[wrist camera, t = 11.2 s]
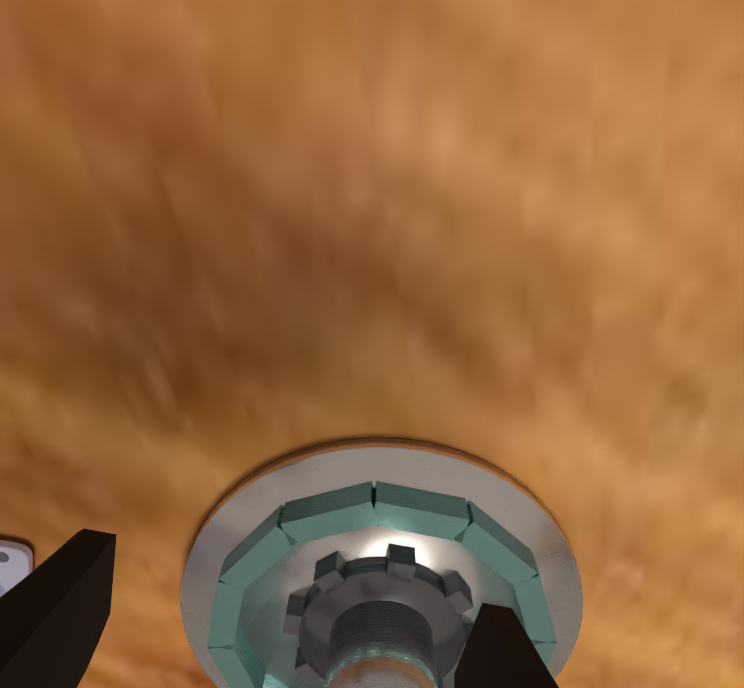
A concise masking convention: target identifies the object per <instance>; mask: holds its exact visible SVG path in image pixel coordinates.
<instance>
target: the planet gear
mask: <svg viewBox="0 0 744 688" xmlns="http://www.w3.org/2000/svg"><path fill="white" fill-rule="evenodd" d="M313 581H314V582H315V583H314V584H313V585H312V587H311V588H310V589H309V591H308V593H307V595H306V597H304V596H298V595H292V594H289V599H288V604H287V609H286V614H285V620H284V625H283V631H282V633H284V634H291V635H297V636H299V644H300V647H299V648H298V649H297V656H296V662H295V670H296V671H297V672H298V673H299V674H300V675H301V676H302V677H303V678H304V679H305V680H306V682H307V683H308V684H311V683H313V682H315V681H317V680H319V679H322V678H323V679H324V680H325V688H443V682H442V678H443V677H444V676H446V675H447V674H448V673H449V672H450V671H451V670H452V669H453V667H454V666H455V665H456V663H457V662H458V661H460V658H461V655H462V653H463V650H464V648H465V645H466V643H467V640H468V638H469V635H470V633H471V630H472V628H473V625H474V624H469V623H463V619H462V613H463V612H466V611H468V610H470V609H472V608H474V607H473V601H472V595H471V589H470V587H469V585H468V584H467V583H466V581H465V580H464V579H463V578H462V576H461V575H460V574H459V573H458V571H456V572H454V573H452V574H450V575H448V576H446V577H444V578H442V577H441V576H440V575H439V574H437V573H436V572H434V571H433V570H431V569H430V568H428V567H426V566H424V565H422V564H419V563H417V562H416V555H415V548H414V547H408V546H403V545H397V544H391V543H389V545H388V549H387V553H386V556H373V557H364V558H359V559H354V560H351V561H348V562H347V561H346V560H345V559H344V558H343V556H342V555H341V554H340V553H339V552H338V551H336V552H334V553H332V554H330V555H328V556H326V557H324V558H322V559H320V560H318V561H316V566H315V573H314V580H313Z"/></svg>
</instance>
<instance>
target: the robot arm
mask: <svg viewBox="0 0 744 688" xmlns="http://www.w3.org/2000/svg"><path fill="white" fill-rule="evenodd" d="M115 545H116V534H110V533H105V532H100V531H94V530H89V529H83V530H81V531H79V532H77V533H76V534H75V535H74V536H73V537H72V538H71V539H70V540H68V541H67V542H66V543H65V544H64V545H63V546H62V547H60V548H59V549H58V550H57V551H56V552H55V553H53V554H52V555H51V556H50V557H49V558H48V559H46V560H45V561H44V562H43V563H42V564H41V565H39V566H38V567H37V568H36V569H35V570H33V555H32V551H31V550H30V549H29V548H28V547H27V546H26V545H23V544H20V543H14V542H9V541H3V540H0V688H77V686H78V684H79V682H80V681H81V679H82V677H83V675H84V673H85V671H86V669H87V667H88V665H89V663H90V660H91V658H92V656H93V653H94V651H95V649H96V646H97V644H98V642H99V639H100V637H101V634H102V632H103V630H104V627H105V625H106V622H107V620H108V617H109V615H110V608H111V596H112V583H113V570H114V558H115ZM3 552H4V553H6V554H7V555H6V554H4V553H3ZM454 688H559V687H558V685H557V684H556V682H555V680H554V679H553V677H552V675H551V674H550V672H549V670H548V669H547V667H546V665H545V664H544V662H543V660H542V659H541V657H540V655H539V653H538V652H537V650H536V648H535V647H534V645H533V643H532V641H531V640H530V638H529V636H528V634H527V633H526V631H525V629H524V627H523V626H522V624H521V622H520V621H519V619H518V617H517V615H516V614H515V612H514V610H513V609H512V608H509V607H504V606H498V605H493V604H488V603H482V605H481V607H480V610H479V612H478V615H477V617H476V620H475V622H474V625H473V628H472V630H471V633H470V635H469V638H468V640H467V643H466V645H465V648H464V650H463V653H462V655H461V658H460V661H459V663H458V666H457V668H456V671H455V673H454Z"/></svg>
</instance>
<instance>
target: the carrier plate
mask: <svg viewBox="0 0 744 688" xmlns="http://www.w3.org/2000/svg"><path fill="white" fill-rule="evenodd" d="M389 543H391V544H397V545H403V546H408V547H414V548H415V555H416V562H417V563H419V564H422V565H424V566H426V567H428V568H430V569H431V570H433V571H434V572H436V573H437V574H439V575H440V576H441V577H442V578H444V577H446V576H448V575H450V574H452V573H454V572H456V571H458V573H459V574H460V575H461V576H462V578H463V579H464V580H465V581H466V583H467V584H468V585H469V587H470V589H471V595H472V601H473V607H474V608H472V609H470V610H468V611H466V612H463V613H462V619H463V623H469V624H474V622H475V620H476V617H477V615H478V612H479V610H480V607H481V605H482V603H488V604H493V605H498V606H504V607H509V608H512V609H513V610H514V612H515V614H516V615H517V617H518V619H519V621H520V622H521V624H522V626H523V627H524V629H525V631H526V633H527V634H528V636H529V638H530V640H531V641H532V643H533V645H534V647H535V648H536V650H537V652H538V653H539V655H540V657H541V659H542V660H543V662H544V664H545V665H546V667H547V669H548V670H549V672H550V674H551V675H552V677H553V679H555V678H556V677H557V676H558V674H559V673H560V672H561V670H562V669H563V667H564V665H565V664H566V662H567V660H568V658H569V657H570V655H571V653H572V650H573V648H574V645H575V643H576V640H577V638H578V634H579V630H580V625H581V620H582V611H583V593H582V586H581V579H580V575H579V572H578V569H577V566H576V562H575V559H574V556H573V554H572V551H571V549H570V546H569V544H568V541H567V539H566V537H565V536H564V534H563V532H562V530H561V528H560V526H559V524H558V522H557V521H556V520H555V518H554V517H553V516H552V515H551V513H550V512H549V511H548V509H547V508H546V507H545V505H544V504H543V503H542V502H541V501H540V500H539V499H538V498H537V497H536V496H535V495H534V494H533V493H532V492H531V491H530V490H529V489H528V488H526V487H525V486H524V485H522V484H521V483H520V482H518V481H517V480H515V479H514V478H513V477H511V476H510V475H509V474H507V473H506V472H504V471H502V470H500V469H498V468H497V467H495V466H493V465H491V464H489V463H488V462H486V461H484V460H482V459H479V458H477V457H474V456H471V455H469V454H466V453H464V452H461V451H459V450H456V449H452V448H448V447H444V446H440V445H437V444H433V443H428V442H421V441H414V440H407V439H394V438H365V439H353V440H343V441H338V442H333V443H328V444H323V445H318V446H314V447H311V448H308V449H305V450H302V451H299V452H296V453H293V454H290V455H288V456H285V457H283V458H281V459H279V460H277V461H275V462H273V463H270V464H268V465H266V466H265V467H263V468H261V469H260V470H258V471H257V472H255V473H254V474H252V475H250V476H249V477H247V478H246V479H244V480H243V481H242V482H241V483H240V484H238V485H237V486H236V487H235V488H234V489H233V490H231V491H230V492H229V493H228V494H227V495H226V496H225V497H224V498H223V499H222V500H221V501H220V503H219V504H218V505H217V506H216V507H215V508H214V509H213V511H212V512H211V513H210V515H209V516H208V518H207V520H206V521H205V523H204V524H203V526H202V527H201V529H200V531H199V533H198V536H197V538H196V540H195V543H194V545H193V547H192V550H191V552H190V555H189V557H188V560H187V562H186V566H185V570H184V574H183V579H182V583H181V601H180V605H181V612H182V620H183V625H184V629H185V632H186V635H187V639H188V642H189V644H190V646H191V648H192V650H193V652H194V654H195V656H196V658H197V660H198V662H199V663H200V665H201V666H202V668H203V669H204V671H205V672H206V673H207V675H208V676H209V678H210V679H211V680H212V681H213V682H214V683H215V684H216V685H217V686H218V688H325V680H324V679H323V678H322V679H319V680H317V681H315V682H313V683H311V684H308V683H307V682H306V680H305V679H304V678H303V677H302V676H301V675H300V674H299V673H298V672H297V671H296V670H295V662H296V656H297V649H298V648H299V647H300V644H299V636H297V635H291V634H284V633H282V631H283V625H284V620H285V614H286V609H287V604H288V599H289V594H292V595H298V596H304V597H306V595H307V593H308V591H309V589H310V588H311V587H312V585H313V584H314V583H315V582H314V581H313V580H314V573H315V566H316V561H318V560H320V559H322V558H324V557H326V556H328V555H330V554H332V553H334V552H336V551H338V552H339V553H340V554H341V555H342V556H343V558H344V559H345V560H346V561H347V562H348V561H351V560H354V559H359V558H364V557H373V556H386V553H387V549H388V545H389ZM458 663H459V661H458V662H457V663H456V665H455V666H454V667H453V669H452V670H451V671H450V672H449V673H448V674H447V675H446V676H444V677H443V678H442V682H443V688H454V673H455V671H456V668H457V666H458Z"/></svg>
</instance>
